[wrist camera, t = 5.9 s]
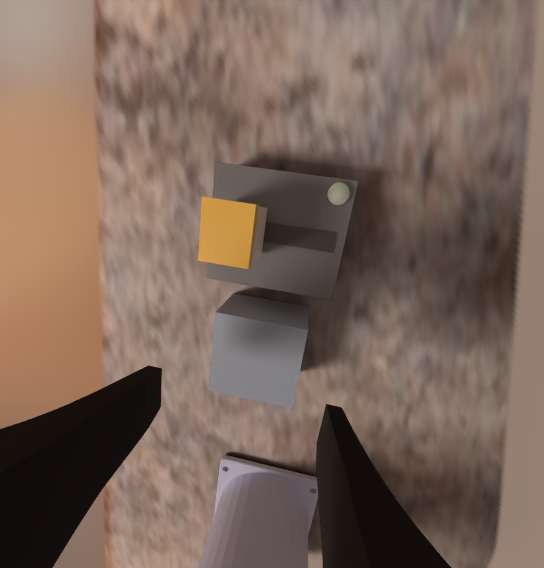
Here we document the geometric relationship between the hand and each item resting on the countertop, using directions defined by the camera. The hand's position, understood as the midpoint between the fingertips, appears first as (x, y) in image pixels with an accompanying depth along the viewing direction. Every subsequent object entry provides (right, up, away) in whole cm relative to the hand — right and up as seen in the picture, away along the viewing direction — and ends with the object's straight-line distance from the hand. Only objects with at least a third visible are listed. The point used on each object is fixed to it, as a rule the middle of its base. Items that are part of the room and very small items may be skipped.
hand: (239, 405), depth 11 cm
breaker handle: (0, +8, +2) cm, 8 cm away
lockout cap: (+1, +2, +7) cm, 7 cm away
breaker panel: (+2, +8, +5) cm, 10 cm away
